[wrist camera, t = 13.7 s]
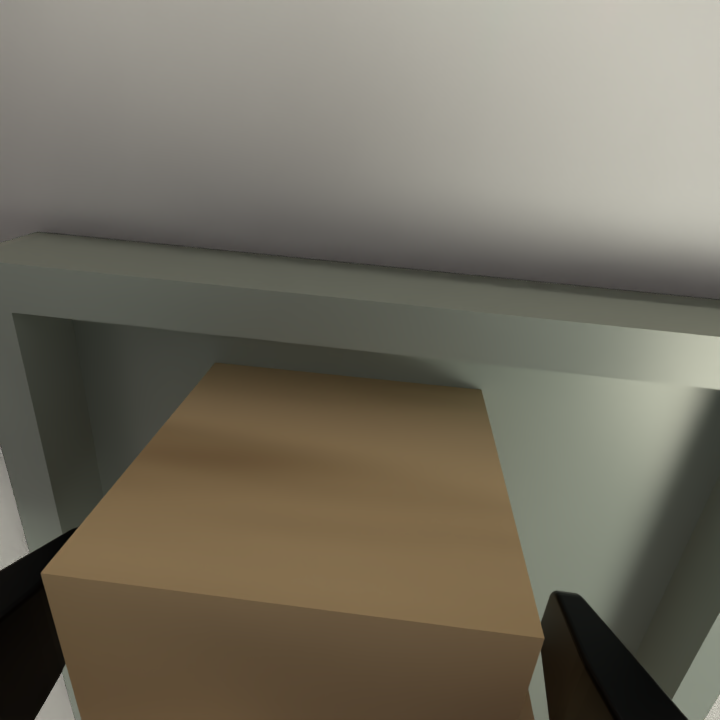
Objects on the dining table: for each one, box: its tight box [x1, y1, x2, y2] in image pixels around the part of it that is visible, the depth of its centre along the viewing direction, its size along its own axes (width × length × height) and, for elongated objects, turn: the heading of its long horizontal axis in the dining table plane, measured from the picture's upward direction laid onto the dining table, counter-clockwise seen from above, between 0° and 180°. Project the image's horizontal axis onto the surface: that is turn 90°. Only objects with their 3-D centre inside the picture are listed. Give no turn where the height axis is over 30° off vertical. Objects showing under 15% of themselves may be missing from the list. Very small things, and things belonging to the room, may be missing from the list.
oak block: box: [41, 363, 545, 720], centre depth 8 cm, size 5×5×5 cm
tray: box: [0, 232, 720, 720], centre depth 12 cm, size 14×16×2 cm
